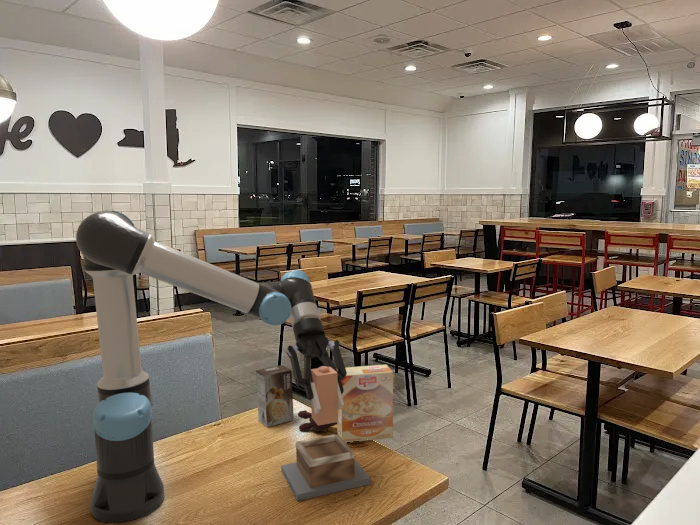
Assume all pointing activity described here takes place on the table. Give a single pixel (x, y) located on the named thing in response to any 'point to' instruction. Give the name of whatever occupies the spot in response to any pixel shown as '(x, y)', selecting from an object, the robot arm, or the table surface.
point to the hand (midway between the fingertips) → (329, 408)
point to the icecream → (312, 422)
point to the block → (325, 395)
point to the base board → (305, 492)
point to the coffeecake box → (366, 404)
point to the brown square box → (325, 460)
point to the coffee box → (274, 395)
